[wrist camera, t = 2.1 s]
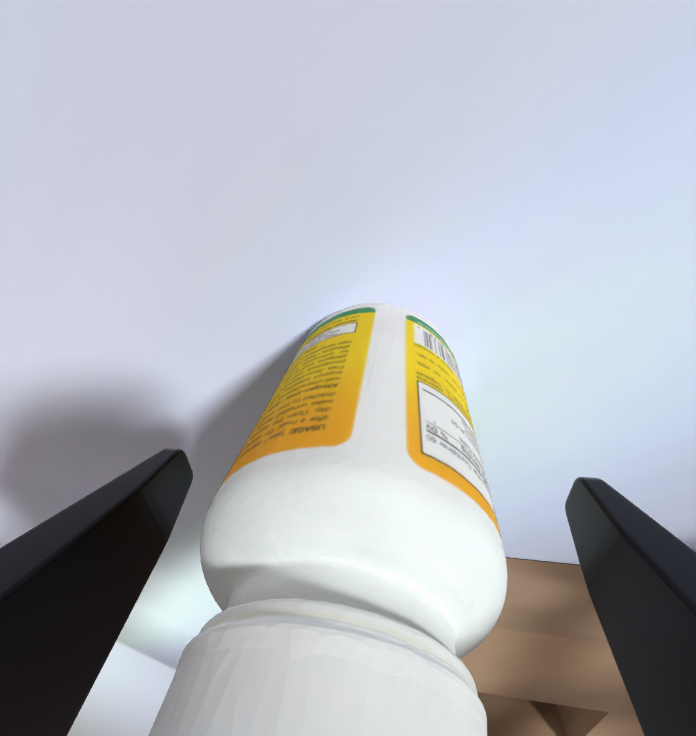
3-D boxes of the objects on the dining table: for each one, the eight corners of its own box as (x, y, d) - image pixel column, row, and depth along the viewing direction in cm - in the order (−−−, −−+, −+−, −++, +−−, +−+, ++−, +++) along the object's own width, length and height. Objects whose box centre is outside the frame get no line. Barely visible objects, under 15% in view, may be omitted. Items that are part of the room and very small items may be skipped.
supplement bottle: (479, 318, 10) (770, 896, 2) (428, 444, 13) (471, 902, 5) (306, 281, 10) (-27, 697, 2) (292, 414, 13) (119, 812, 5)
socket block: (800, 587, 14) (886, 679, 12) (625, 734, 25) (651, 800, 22) (335, 540, 17) (323, 606, 15) (350, 689, 27) (345, 744, 25)
